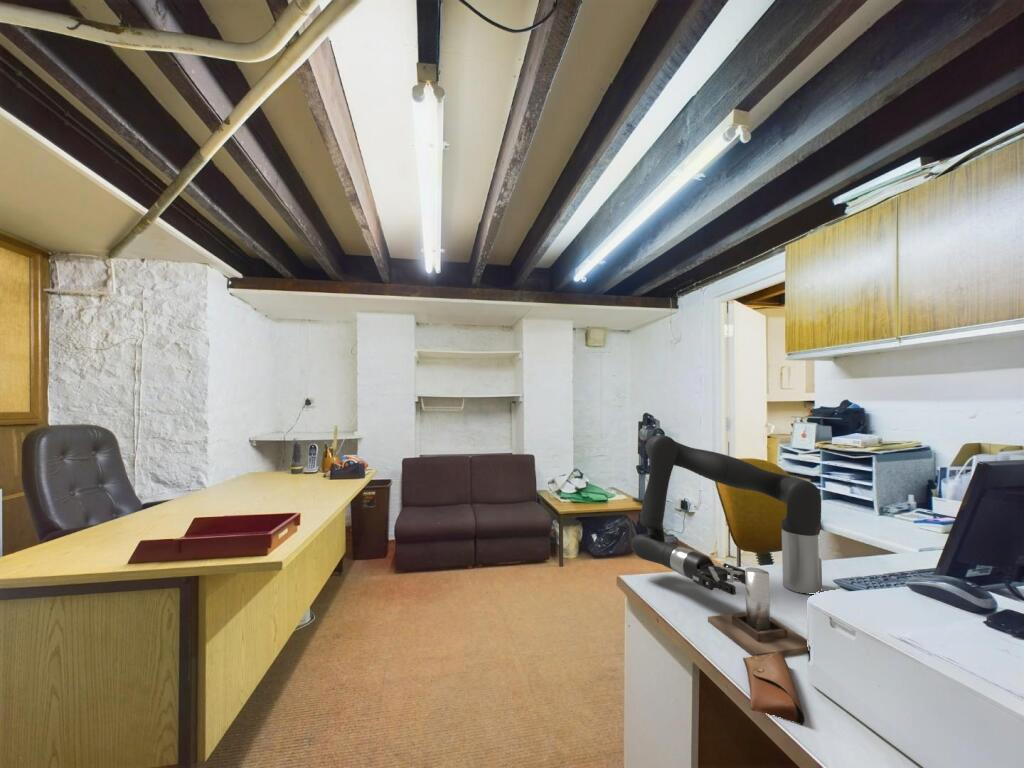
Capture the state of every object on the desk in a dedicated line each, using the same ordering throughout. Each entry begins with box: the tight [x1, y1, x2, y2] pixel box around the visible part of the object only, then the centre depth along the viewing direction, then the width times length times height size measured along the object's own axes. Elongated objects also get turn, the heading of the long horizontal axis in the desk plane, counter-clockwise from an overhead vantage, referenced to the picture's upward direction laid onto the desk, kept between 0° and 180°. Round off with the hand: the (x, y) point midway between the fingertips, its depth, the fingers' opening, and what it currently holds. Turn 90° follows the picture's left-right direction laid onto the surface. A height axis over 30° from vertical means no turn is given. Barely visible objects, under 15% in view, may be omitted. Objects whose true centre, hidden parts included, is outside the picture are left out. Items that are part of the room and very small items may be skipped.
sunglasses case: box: [742, 650, 805, 726], centre depth 81 cm, size 18×7×7 cm
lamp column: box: [744, 567, 771, 632], centre depth 99 cm, size 5×5×14 cm
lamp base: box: [707, 611, 808, 657], centre depth 99 cm, size 16×16×3 cm
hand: (745, 587), depth 102 cm, fingers open, 8 cm apart
